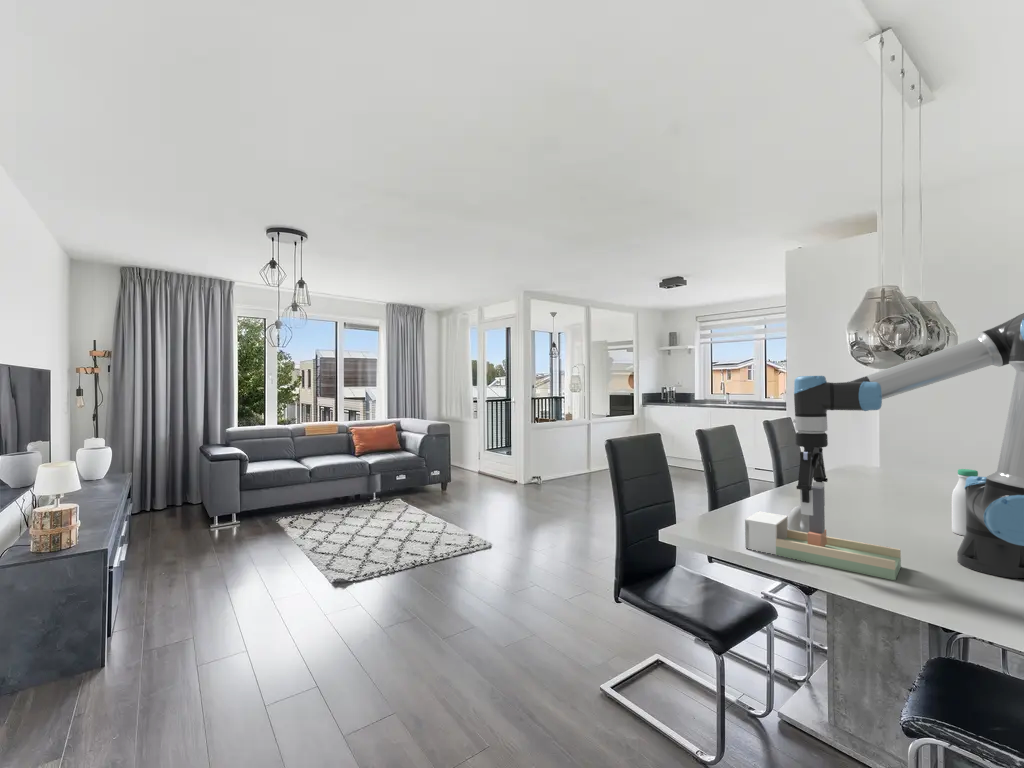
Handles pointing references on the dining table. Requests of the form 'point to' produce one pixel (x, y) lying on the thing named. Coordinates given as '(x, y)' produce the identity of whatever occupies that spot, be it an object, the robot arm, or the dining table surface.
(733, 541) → the dining table surface
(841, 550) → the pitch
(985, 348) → the robot arm
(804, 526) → the donut
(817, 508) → the striker
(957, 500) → the milk bottle
